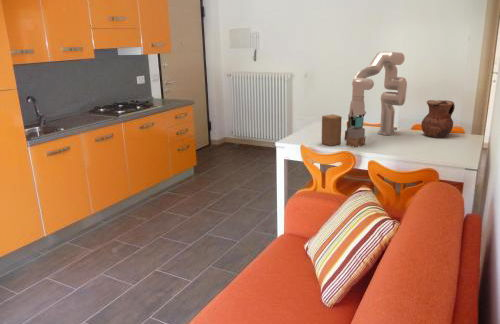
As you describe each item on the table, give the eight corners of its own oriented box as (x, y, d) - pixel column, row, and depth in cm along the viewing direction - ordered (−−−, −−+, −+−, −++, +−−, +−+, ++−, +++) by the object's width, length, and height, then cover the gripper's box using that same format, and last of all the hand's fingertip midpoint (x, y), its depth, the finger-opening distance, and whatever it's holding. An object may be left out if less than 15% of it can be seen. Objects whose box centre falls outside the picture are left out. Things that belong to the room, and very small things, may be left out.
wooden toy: (353, 140, 294) (354, 106, 286) (344, 139, 298) (345, 105, 290) (362, 136, 304) (364, 102, 297) (354, 135, 309) (356, 102, 301)
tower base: (355, 143, 287) (355, 134, 285) (365, 145, 280) (365, 137, 278) (346, 145, 283) (346, 136, 281) (355, 147, 275) (356, 139, 274)
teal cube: (356, 124, 281) (357, 116, 279) (363, 126, 276) (363, 117, 274) (350, 125, 278) (350, 117, 276) (356, 127, 273) (357, 118, 271)
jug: (443, 140, 285) (447, 104, 278) (414, 135, 300) (417, 102, 293) (457, 134, 299) (461, 100, 291) (429, 130, 314) (432, 98, 307)
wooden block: (329, 146, 280) (330, 117, 274) (321, 143, 289) (321, 115, 283) (341, 144, 284) (342, 116, 279) (332, 141, 293) (332, 114, 287)
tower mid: (355, 135, 285) (356, 126, 283) (364, 137, 278) (364, 128, 276) (347, 136, 281) (347, 128, 279) (355, 138, 274) (356, 130, 273)
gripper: (363, 96, 279) (361, 122, 284) (344, 99, 271) (343, 125, 276) (371, 97, 273) (369, 124, 278) (352, 100, 264) (351, 127, 270)
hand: (356, 124), depth 277 cm, fingers closed on teal cube, 6 cm apart
